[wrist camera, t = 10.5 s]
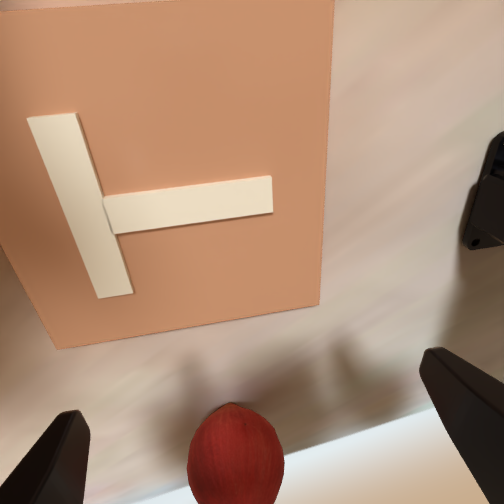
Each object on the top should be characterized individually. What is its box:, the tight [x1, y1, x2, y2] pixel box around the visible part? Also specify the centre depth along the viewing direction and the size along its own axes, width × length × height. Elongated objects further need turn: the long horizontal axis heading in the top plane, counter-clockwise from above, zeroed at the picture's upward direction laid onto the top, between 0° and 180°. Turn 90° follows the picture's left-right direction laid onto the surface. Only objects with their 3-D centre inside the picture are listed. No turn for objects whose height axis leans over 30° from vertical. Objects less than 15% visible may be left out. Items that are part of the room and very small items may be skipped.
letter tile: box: [0, 0, 335, 350], centre depth 15 cm, size 14×14×1 cm
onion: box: [187, 403, 284, 504], centre depth 20 cm, size 6×6×8 cm
